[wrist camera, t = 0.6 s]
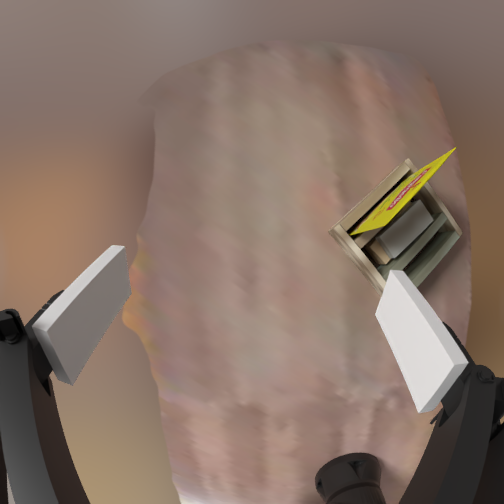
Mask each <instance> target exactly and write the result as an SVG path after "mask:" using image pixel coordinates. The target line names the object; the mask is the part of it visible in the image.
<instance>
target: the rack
mask: <svg viewBox="0 0 504 504" xmlns="http://www.w3.org/2000/svg"><path fill="white" fill-rule="evenodd" d="M417 171H418V170H417V168H416V167H415V166H414V165H413V163H412V162H411V161H410V160H409V159H406V160H405V161H404V162H402V163H401V164H400V165H398V166H397V167H396V168H395V169H394V170H393V171H392V172H391V173H389V174H388V175H387V176H386V177H385V178H384V179H383V180H382V181H381V182H380V183H379V184H378V185H377V186H376V187H375V188H374V189H373V190H372V191H371V192H370V193H369V194H368V195H366V196H365V197H364V198H363V199H362V200H361V201H360V202H359V203H358V204H357V205H356V206H355V207H354V208H353V209H352V210H350V211H349V212H348V213H347V214H346V215H345V216H344V217H343V218H342V219H341V220H340V221H339V222H337V223H336V224H335V225H334V226H333V227H332V228H331V229H330V230H329V231H328V233H329V234H330V235H331V236H332V237H333V238H334V240H335V241H336V242H337V243H338V244H339V245H340V247H341V248H342V249H343V250H344V251H345V253H346V254H347V255H348V256H349V257H350V259H351V260H352V261H353V262H354V263H355V265H356V266H357V267H358V268H359V270H360V271H361V272H362V273H363V275H364V276H365V277H366V278H367V280H368V281H369V282H370V283H371V285H372V286H373V287H374V289H375V290H376V291H377V292H378V294H379V295H380V296H381V297H382V294H383V291H384V288H385V285H386V282H387V279H388V276H389V273H390V270H399V271H402V270H403V269H404V267H405V266H406V265H407V264H408V263H409V262H410V261H411V260H412V259H413V258H414V257H415V256H416V255H417V254H418V252H419V251H420V250H421V249H422V248H423V247H424V246H425V245H426V243H427V242H428V241H429V240H430V239H431V238H432V237H433V235H434V234H435V233H436V232H437V231H438V232H439V233H438V234H437V235H436V236H435V238H434V239H433V240H432V241H431V242H430V243H429V245H428V246H427V247H426V248H425V249H424V250H423V251H422V252H421V254H420V255H419V256H418V257H417V258H416V259H415V260H414V261H413V262H412V263H411V264H410V265H409V267H408V268H407V269H406V270H405V271H404V273H405V274H406V275H407V277H408V278H409V279H410V280H411V282H412V283H413V284H414V285H415V287H416V288H417V287H418V286H419V285H420V283H421V282H422V281H423V280H424V279H425V278H426V277H427V276H428V275H429V274H430V272H431V271H432V270H433V269H434V268H435V267H436V266H437V264H438V263H439V262H440V261H441V260H442V258H443V257H444V256H445V255H446V254H447V252H448V251H449V250H450V249H451V247H452V246H453V245H454V244H455V242H456V241H457V240H458V239H459V237H460V236H461V235H462V231H461V229H460V228H459V226H458V225H457V223H456V222H455V220H454V219H453V217H452V216H451V214H450V213H449V211H448V210H447V208H446V207H445V205H444V204H443V203H442V201H441V200H440V198H439V197H438V196H437V194H436V193H435V191H434V190H433V189H432V187H431V186H430V185H429V183H428V182H427V183H426V184H425V185H424V186H423V187H422V188H421V189H420V190H419V191H418V192H417V194H416V195H415V196H414V199H415V200H416V201H417V200H419V199H420V200H421V202H422V203H423V205H424V206H425V207H426V209H427V210H428V212H429V213H430V215H431V217H432V218H433V221H432V222H431V223H430V224H429V225H428V227H427V228H426V229H425V230H424V231H423V232H422V233H421V234H420V235H418V236H417V237H416V238H415V239H414V240H413V241H412V242H411V243H410V244H409V245H408V246H407V247H406V248H405V249H404V250H403V251H402V252H401V253H400V254H399V255H398V256H397V257H395V258H391V259H390V260H389V261H388V263H387V264H381V265H380V266H379V267H378V268H377V269H376V268H375V267H374V266H373V264H372V263H371V262H370V261H369V259H368V258H367V257H366V256H365V254H364V253H363V252H362V251H361V248H362V247H363V246H364V245H365V244H366V243H367V242H368V241H369V240H370V239H371V238H372V237H374V236H375V235H376V234H377V233H378V232H379V231H380V230H381V229H382V228H383V227H384V226H382V227H380V228H376V229H373V230H369V231H365V232H361V233H357V234H354V235H353V236H352V237H350V236H349V235H348V234H347V233H346V231H347V230H348V229H349V228H350V227H351V226H352V225H353V224H354V223H355V222H356V221H357V220H358V219H360V218H361V217H362V216H363V215H364V214H365V213H366V212H367V211H368V210H369V209H370V208H371V207H372V206H373V205H374V204H375V203H376V202H377V201H378V200H379V199H380V198H381V197H382V196H383V195H384V194H385V193H387V192H388V191H389V190H390V189H391V188H392V187H393V186H394V185H395V184H396V183H397V182H398V181H399V180H400V181H402V180H404V179H406V178H407V177H409V176H410V175H412V174H414V173H415V172H417Z"/></svg>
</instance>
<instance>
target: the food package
mask: <svg viewBox="0 0 504 504" xmlns="http://www.w3.org/2000/svg"><path fill="white" fill-rule="evenodd" d="M455 149H456V148H454V149H452V150H451V151H449V152H448V153H446V154H445V155H443V156H441V157H440V158H438V159H436V160H435V161H433V162H432V163H430V164H428V165H427V166H425V167H423V168H422V169H420V170H419V171H417V172H415V173H414V174H412V175H410V176H409V177H407V178H406V179H404V180H402V181H401V182H399V183H398V184H397V185H396V186H395V187H394V188H393V189H391V190H390V191H389V192H388V193H387V194H386V195H385V196H384V197H383V198H382V199H381V200H380V201H379V202H378V203H377V204H376V205H375V206H374V207H373V208H372V209H371V210H370V211H369V212H368V213H367V214H366V215H365V216H364V217H363V218H362V219H361V220H359V221H358V222H357V223H356V224H355V225H354V226H353V227H352V228H351V229H350V230H349V231H348V232H347V234H348V235H349V236H350V235H353V234H357V233H361V232H365V231H369V230H373V229H376V228H380V227H382V226H385V225H386V224H387V223H388V222H389V221H390V220H391V219H392V218H393V217H394V216H395V215H396V214H397V213H398V212H399V211H400V210H401V209H402V208H403V207H404V206H405V205H406V204H407V203H408V202H409V201H410V200H411V199H412V198H413V197H414V196H415V195H416V194H417V192H418V191H419V190H420V189H421V188H422V187H423V186H424V185H425V184H426V183H427V181H428V180H429V179H430V178H431V177H432V176H433V175H434V174H435V172H436V171H437V170H438V169H439V168H440V167H441V166H442V164H443V163H444V162H445V161H446V159H447V158H448V157H449V156H450V155H451V154H452V152H453V151H454V150H455Z"/></svg>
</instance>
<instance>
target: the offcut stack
mask: <svg viewBox="0 0 504 504" xmlns="http://www.w3.org/2000/svg"><path fill="white" fill-rule="evenodd" d="M432 221H433V218H432V217H431V215H430V213H429V212H428V210H427V209H426V207H425V206H424V205H423V203H422V202H421V200H420V199H419V200H417V201H414V202H413V203H412V202H411V201H409V202H408V203H407V204H406V205H405V206H404V207H403V208H402V209H401V210H400V211H399V212H398V213H397V214H396V215H395V216H394V217H393V218H392V219H391V220H390V221H389V222H388V223H387V224H386V225H385V226H384V227H383V228H382V229H381V230H380V231H379V232H378V233H377V234H376V235H375V236H374V237H372V238H371V239H370V240H369V241H368V242H367V243H366V244H365V245H364V246H363V247H364V248H365V250H366V251H367V252H368V253H369V255H370V256H371V257H372V258H373V260H374V261H375V262H376V263H377V264H387V263H388V261H389V260H390V259H391V258H395V257H397V256H398V255H399V254H400V253H401V252H402V251H403V250H404V249H405V248H406V247H407V246H408V245H409V244H410V243H411V242H412V241H413V240H414V239H415V238H416V237H417V236H418V235H420V234H421V233H422V232H423V231H424V230H425V229H426V228H427V227H428V225H429V224H430V223H431V222H432Z"/></svg>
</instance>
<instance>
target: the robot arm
mask: <svg viewBox="0 0 504 504" xmlns="http://www.w3.org/2000/svg"><path fill="white" fill-rule="evenodd" d="M131 294H132V292H131V286H130V280H129V273H128V267H127V258H126V251H125V246H116V245H112V246H111V247H110V248H108V249H107V250H106V251H105V252H104V253H103V254H102V255H101V256H100V257H99V258H97V259H96V260H95V262H93V263H92V264H91V265H90V266H89V267H88V268H87V269H86V270H85V271H84V272H83V273H82V274H81V275H80V276H79V277H78V278H77V279H76V280H75V281H74V282H73V283H72V284H71V285H70V286H69V287H68V288H67V289H66V290H62V291H60V292H58V293H57V294H55V295H53V296H52V297H51V299H50V300H49V301H48V302H47V304H45V305H44V306H43V307H42V309H41V310H39V311H38V312H37V313H36V314H35V315H34V317H33V318H32V319H31V320H30V321H29V322H28V323H27V324H26V325H25V326H24V325H23V323H22V320H21V318H20V316H19V313H18V312H17V311H16V310H15V309H5V310H3V311H0V504H8V492H7V473H8V478H9V482H10V486H11V490H12V494H13V497H14V501H15V504H90V502H89V500H88V498H87V496H86V493H85V491H84V489H83V486H82V484H81V482H80V479H79V476H78V474H77V471H76V469H75V467H74V464H73V461H72V458H71V455H70V452H69V449H68V446H67V443H66V439H65V436H64V432H63V429H62V425H61V421H60V417H59V413H58V410H57V405H56V400H55V396H54V391H53V385H52V381H51V379H50V377H49V375H50V373H51V372H52V370H53V371H54V373H55V375H56V377H57V378H58V380H60V381H62V382H65V383H68V384H70V385H73V384H74V382H75V381H76V379H77V377H78V375H79V374H80V372H81V370H82V369H83V367H84V366H85V364H86V362H87V361H88V359H89V357H90V356H91V354H92V353H93V351H94V349H95V348H96V346H97V345H98V343H99V341H100V340H101V338H102V337H103V335H104V334H105V332H106V330H107V329H108V327H109V326H110V324H111V323H112V321H113V320H114V318H115V317H116V315H117V314H118V312H119V311H120V310H121V308H122V307H123V305H124V304H125V302H126V301H127V299H128V298H129V296H130V295H131ZM375 315H376V317H377V319H378V321H379V323H380V325H381V328H382V330H383V332H384V334H385V336H386V338H387V340H388V342H389V345H390V347H391V349H392V351H393V353H394V355H395V358H396V360H397V362H398V364H399V367H400V369H401V371H402V374H403V376H404V378H405V381H406V383H407V386H408V388H409V390H410V393H411V395H412V398H413V400H414V403H415V405H416V408H417V411H418V413H423V412H428V411H432V410H434V409H435V407H436V406H437V405H438V404H439V402H440V401H441V402H442V405H443V408H442V409H441V410H440V411H439V413H438V414H437V415H436V416H435V417H434V418H433V419H432V421H431V422H430V424H433V423H434V421H435V420H437V421H436V423H435V426H434V429H433V432H432V434H431V437H430V439H429V442H428V444H427V447H426V449H425V452H424V454H423V456H422V459H421V461H420V463H419V465H418V467H417V470H416V472H415V474H414V476H413V478H412V480H411V482H410V484H409V486H408V487H407V489H406V491H405V493H404V495H403V497H402V498H401V500H400V502H399V504H504V422H503V423H502V424H500V419H501V418H502V417H503V416H504V378H499V377H495V375H494V373H493V372H492V371H491V370H490V369H489V368H487V367H486V366H483V365H475V363H474V361H473V360H472V358H471V357H470V355H469V354H468V352H467V351H466V349H465V348H464V346H463V345H462V344H461V342H460V340H459V339H458V338H457V336H456V334H455V333H454V331H453V330H452V329H451V328H450V327H449V326H448V325H447V324H445V323H444V322H441V320H440V319H439V317H438V316H437V315H436V313H435V312H434V310H433V309H432V308H431V306H430V305H429V304H428V302H427V301H426V300H425V298H424V297H423V296H422V294H421V293H420V292H419V291H418V289H417V288H416V287H415V285H414V284H413V283H412V282H411V280H410V279H409V278H408V277H407V275H406V274H405V273H404V272H403V271H399V270H390V273H389V276H388V279H387V282H386V285H385V288H384V291H383V294H382V297H381V300H380V302H379V305H378V308H377V311H376V313H375ZM380 477H381V468H380V465H379V462H378V460H377V459H376V458H375V457H374V456H372V455H370V454H366V453H352V454H347V455H343V456H340V457H338V458H335V459H333V460H331V461H330V462H328V463H327V464H325V465H324V466H323V467H322V468H321V469H320V470H319V471H318V473H317V474H316V477H315V485H316V489H317V491H318V493H319V494H320V496H321V497H322V498H323V500H324V501H325V503H326V504H386V502H385V499H384V496H383V494H382V491H381V489H380Z"/></svg>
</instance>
